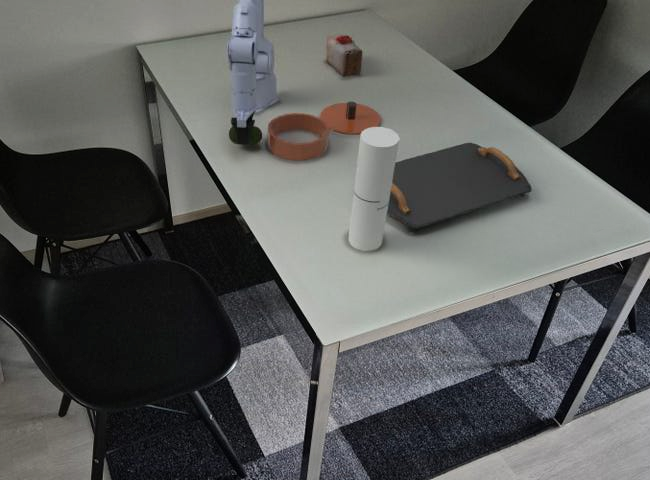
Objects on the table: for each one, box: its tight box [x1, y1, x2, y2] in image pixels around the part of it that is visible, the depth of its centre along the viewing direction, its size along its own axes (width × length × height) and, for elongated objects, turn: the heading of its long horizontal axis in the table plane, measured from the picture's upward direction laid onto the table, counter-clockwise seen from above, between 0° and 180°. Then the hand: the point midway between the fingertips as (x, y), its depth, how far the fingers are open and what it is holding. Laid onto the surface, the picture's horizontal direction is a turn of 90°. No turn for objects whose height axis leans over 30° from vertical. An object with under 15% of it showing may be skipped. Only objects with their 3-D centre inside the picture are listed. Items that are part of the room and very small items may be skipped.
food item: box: [325, 33, 363, 78], centre depth 192 cm, size 14×8×10 cm, turn 23°
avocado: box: [228, 125, 263, 146], centre depth 158 cm, size 8×5×5 cm, turn 88°
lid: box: [319, 101, 381, 136], centre depth 170 cm, size 16×16×5 cm
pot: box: [267, 112, 330, 162], centre depth 160 cm, size 15×15×5 cm
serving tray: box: [387, 142, 533, 233], centre depth 147 cm, size 39×23×6 cm, turn 117°
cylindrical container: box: [348, 126, 400, 252], centre depth 127 cm, size 7×7×25 cm
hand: (244, 138), depth 158 cm, fingers closed on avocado, 5 cm apart
